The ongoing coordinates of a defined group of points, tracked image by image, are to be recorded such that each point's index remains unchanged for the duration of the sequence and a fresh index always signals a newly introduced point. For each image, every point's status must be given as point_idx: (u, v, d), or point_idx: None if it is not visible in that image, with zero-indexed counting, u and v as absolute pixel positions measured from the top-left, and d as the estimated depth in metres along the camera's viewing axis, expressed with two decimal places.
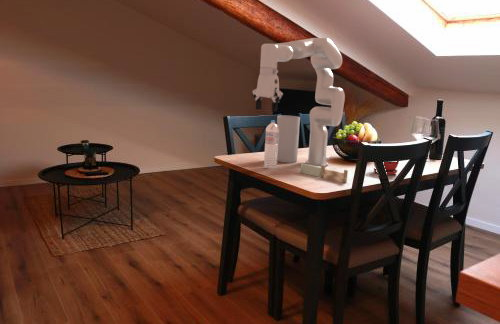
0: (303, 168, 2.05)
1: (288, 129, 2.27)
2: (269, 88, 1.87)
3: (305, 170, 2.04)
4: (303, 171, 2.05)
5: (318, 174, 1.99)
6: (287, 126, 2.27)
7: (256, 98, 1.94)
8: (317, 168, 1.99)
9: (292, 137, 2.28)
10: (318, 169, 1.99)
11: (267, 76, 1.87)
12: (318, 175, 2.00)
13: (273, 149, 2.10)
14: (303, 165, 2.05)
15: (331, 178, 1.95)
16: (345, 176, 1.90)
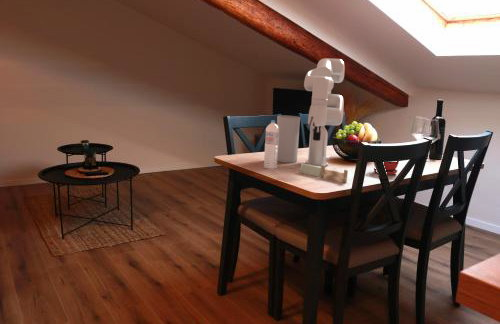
0: (303, 168, 2.05)
1: (288, 129, 2.27)
2: (325, 117, 2.04)
3: (305, 170, 2.04)
4: (303, 171, 2.05)
5: (318, 174, 1.99)
6: (287, 126, 2.27)
7: (318, 130, 2.03)
8: (317, 168, 1.99)
9: (292, 137, 2.28)
10: (318, 169, 1.99)
11: (325, 106, 2.02)
12: (318, 175, 2.00)
13: (273, 149, 2.10)
14: (303, 165, 2.05)
15: (331, 178, 1.95)
16: (345, 176, 1.90)
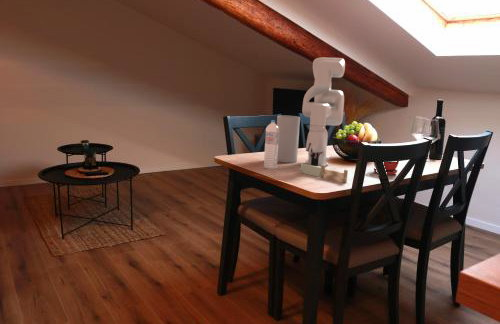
0: (303, 168, 2.05)
1: (288, 129, 2.27)
2: (323, 143, 2.06)
3: (305, 170, 2.04)
4: (303, 171, 2.05)
5: (318, 174, 1.99)
6: (287, 126, 2.27)
7: (316, 156, 2.05)
8: (317, 168, 1.99)
9: (292, 137, 2.28)
10: (318, 169, 1.99)
11: (323, 133, 2.04)
12: (318, 175, 2.00)
13: (273, 149, 2.10)
14: (303, 165, 2.05)
15: (331, 178, 1.95)
16: (345, 176, 1.90)
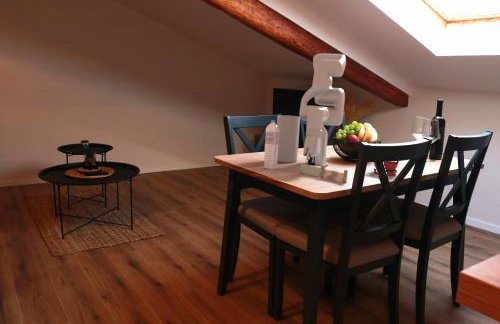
0: (303, 168, 2.05)
1: (288, 129, 2.27)
2: (319, 147, 2.05)
3: (305, 170, 2.04)
4: (303, 171, 2.05)
5: (318, 174, 1.99)
6: (287, 126, 2.27)
7: (313, 160, 2.03)
8: (317, 168, 1.99)
9: (292, 137, 2.28)
10: (318, 169, 1.99)
11: (319, 137, 2.03)
12: (318, 175, 2.00)
13: (273, 149, 2.10)
14: (303, 165, 2.05)
15: (331, 178, 1.95)
16: (345, 176, 1.90)
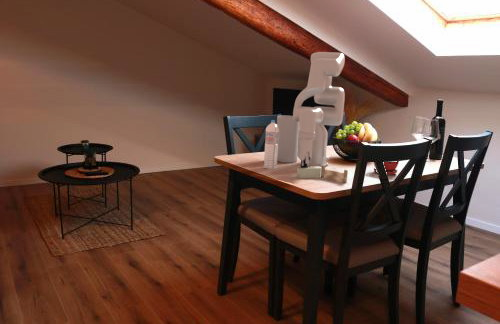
0: (301, 172, 1.95)
1: (288, 129, 2.27)
2: None
3: (303, 174, 1.96)
4: (301, 176, 1.96)
5: (319, 175, 1.98)
6: (287, 126, 2.27)
7: (307, 163, 1.97)
8: (318, 169, 1.97)
9: (292, 137, 2.28)
10: (319, 170, 1.97)
11: None
12: (319, 176, 1.98)
13: (273, 149, 2.10)
14: (301, 169, 1.95)
15: (331, 178, 1.95)
16: (345, 176, 1.90)
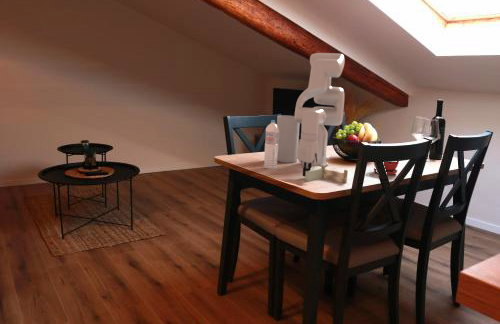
0: (309, 175, 1.90)
1: (288, 129, 2.27)
2: None
3: (311, 177, 1.91)
4: (309, 179, 1.91)
5: (321, 175, 1.97)
6: (287, 126, 2.27)
7: None
8: (320, 170, 1.96)
9: (292, 137, 2.28)
10: (321, 171, 1.96)
11: None
12: (321, 176, 1.97)
13: (273, 149, 2.10)
14: (309, 172, 1.90)
15: (331, 178, 1.95)
16: (345, 176, 1.90)
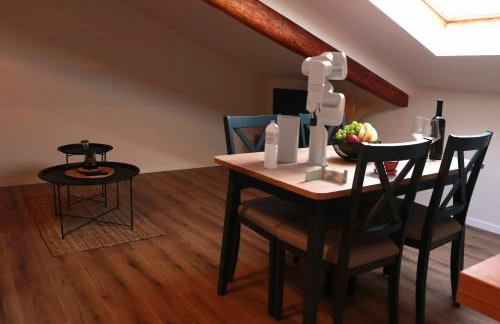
0: (309, 175, 1.90)
1: (288, 129, 2.27)
2: None
3: (311, 177, 1.91)
4: (309, 179, 1.91)
5: (321, 175, 1.97)
6: (287, 126, 2.27)
7: None
8: (320, 170, 1.96)
9: (292, 137, 2.28)
10: (321, 171, 1.96)
11: None
12: (321, 176, 1.97)
13: (273, 149, 2.10)
14: (309, 172, 1.90)
15: (331, 178, 1.95)
16: (345, 176, 1.90)
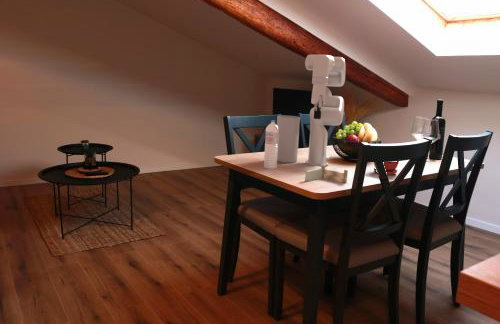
0: (309, 175, 1.90)
1: (288, 129, 2.27)
2: None
3: (311, 177, 1.91)
4: (309, 179, 1.91)
5: (321, 175, 1.97)
6: (287, 126, 2.27)
7: (321, 108, 2.04)
8: (320, 170, 1.96)
9: (292, 137, 2.28)
10: (321, 171, 1.96)
11: None
12: (321, 176, 1.97)
13: (273, 149, 2.10)
14: (309, 172, 1.90)
15: (331, 178, 1.95)
16: (345, 176, 1.90)
